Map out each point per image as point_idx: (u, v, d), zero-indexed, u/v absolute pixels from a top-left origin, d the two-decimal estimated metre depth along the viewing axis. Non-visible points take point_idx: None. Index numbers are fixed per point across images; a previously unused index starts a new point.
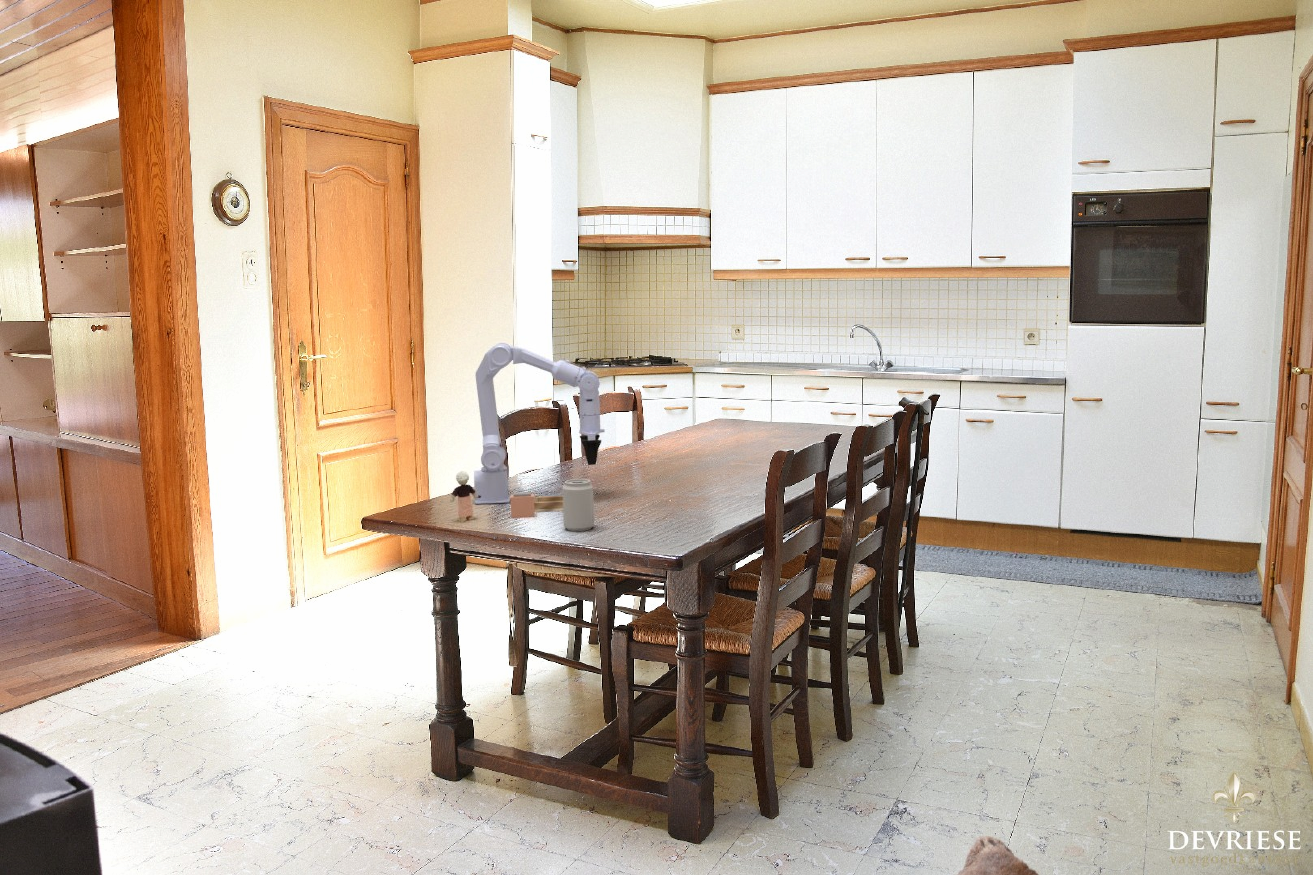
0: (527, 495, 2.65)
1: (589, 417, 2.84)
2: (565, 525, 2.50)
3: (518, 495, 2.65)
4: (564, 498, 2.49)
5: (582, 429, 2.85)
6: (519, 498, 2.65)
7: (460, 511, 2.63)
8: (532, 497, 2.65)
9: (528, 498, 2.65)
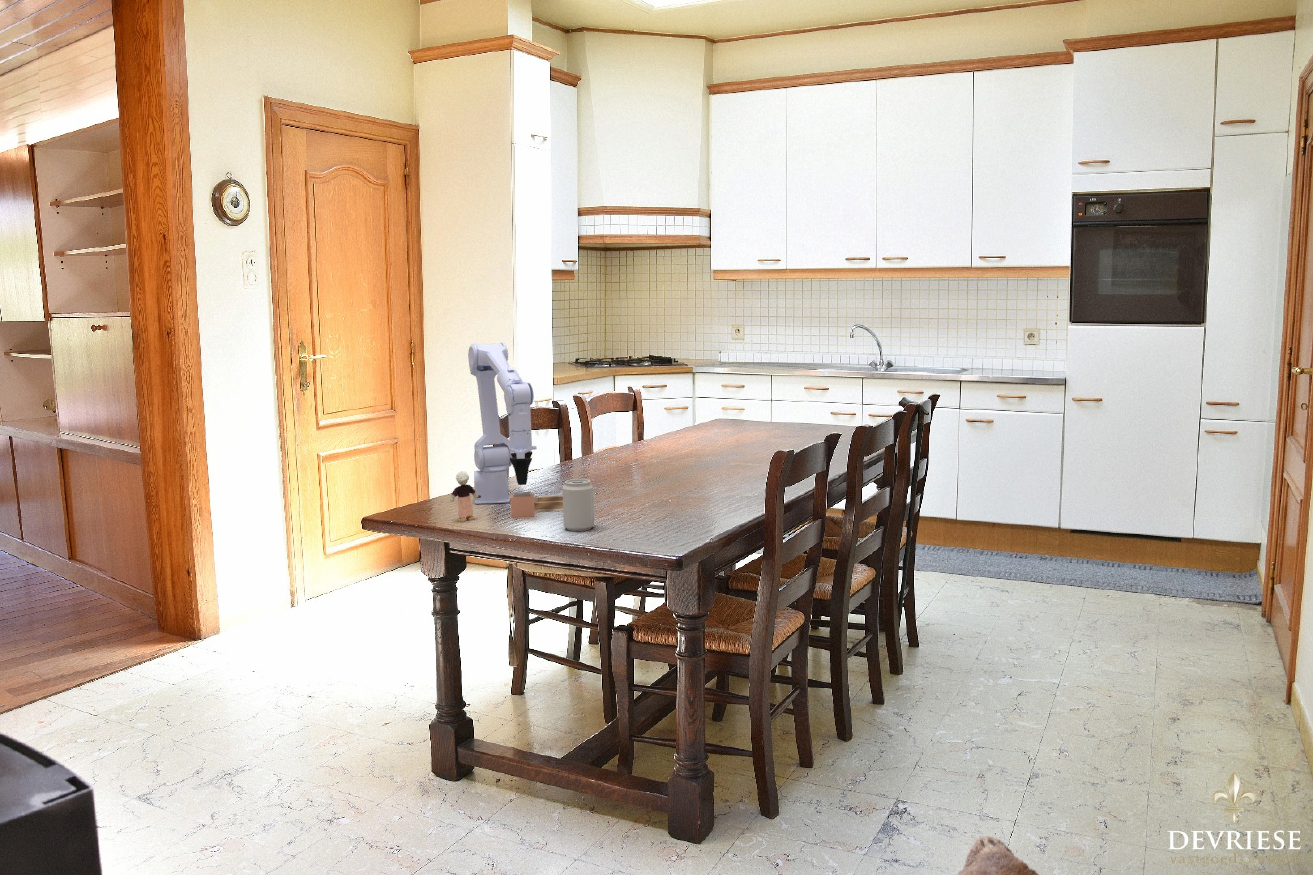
0: (527, 495, 2.65)
1: (519, 433, 2.62)
2: (565, 525, 2.50)
3: (518, 495, 2.65)
4: (564, 498, 2.49)
5: (512, 446, 2.63)
6: (519, 498, 2.65)
7: (460, 511, 2.63)
8: (532, 497, 2.65)
9: (528, 498, 2.65)
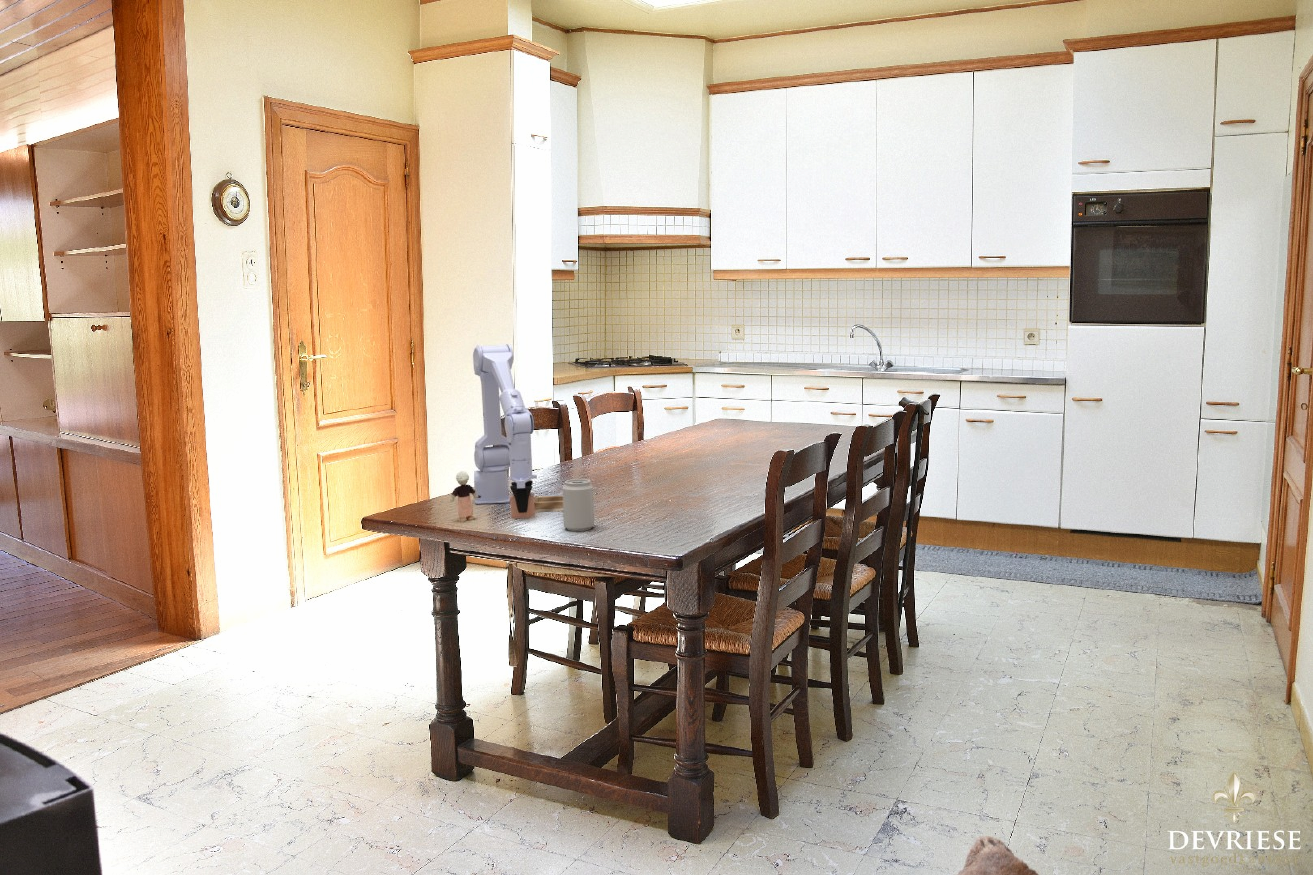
0: None
1: (519, 462, 2.63)
2: (565, 525, 2.50)
3: None
4: (564, 498, 2.49)
5: (512, 475, 2.64)
6: None
7: (460, 511, 2.63)
8: (532, 497, 2.65)
9: None
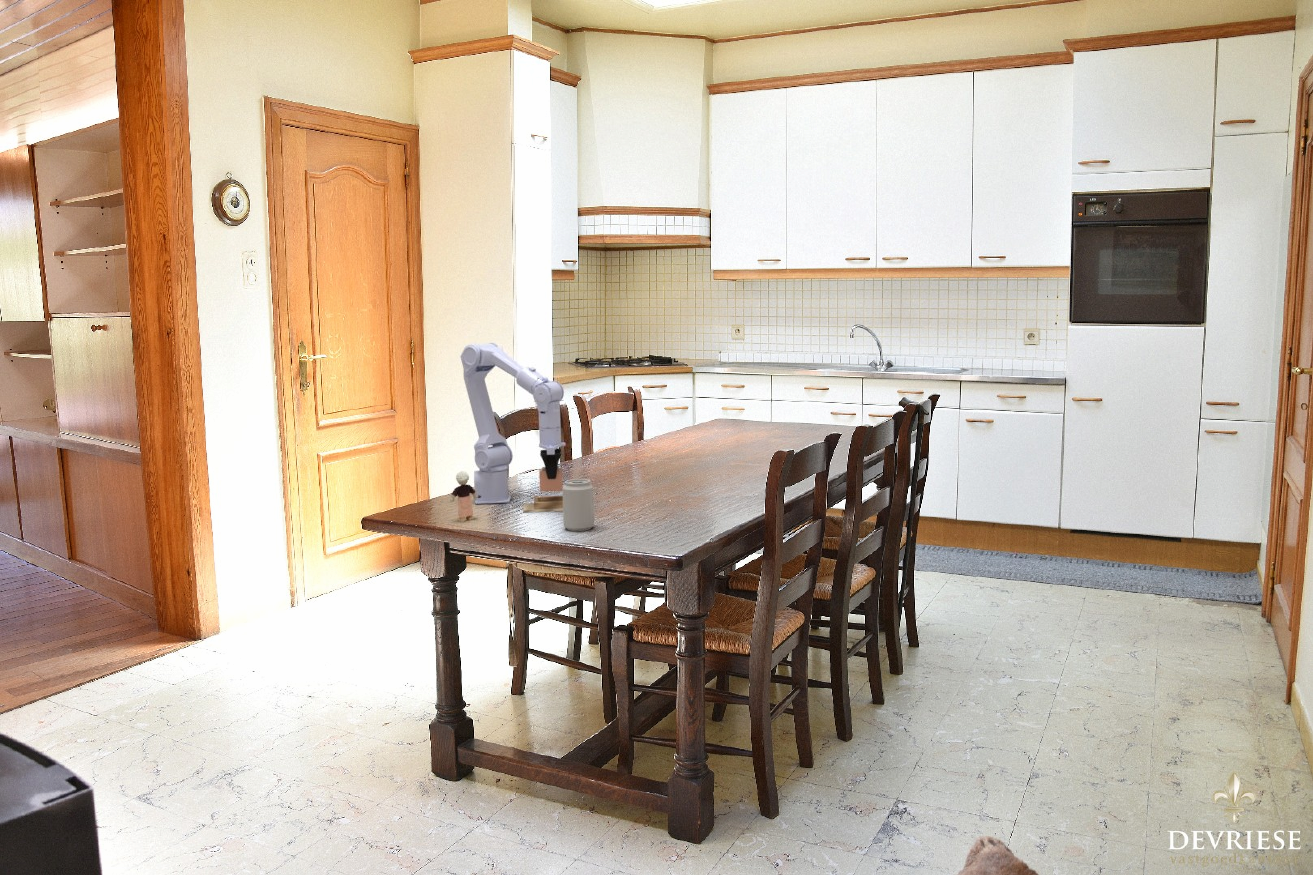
0: None
1: (549, 430, 2.71)
2: (565, 525, 2.50)
3: None
4: (564, 498, 2.49)
5: (542, 442, 2.72)
6: None
7: (460, 511, 2.63)
8: (560, 471, 2.73)
9: None
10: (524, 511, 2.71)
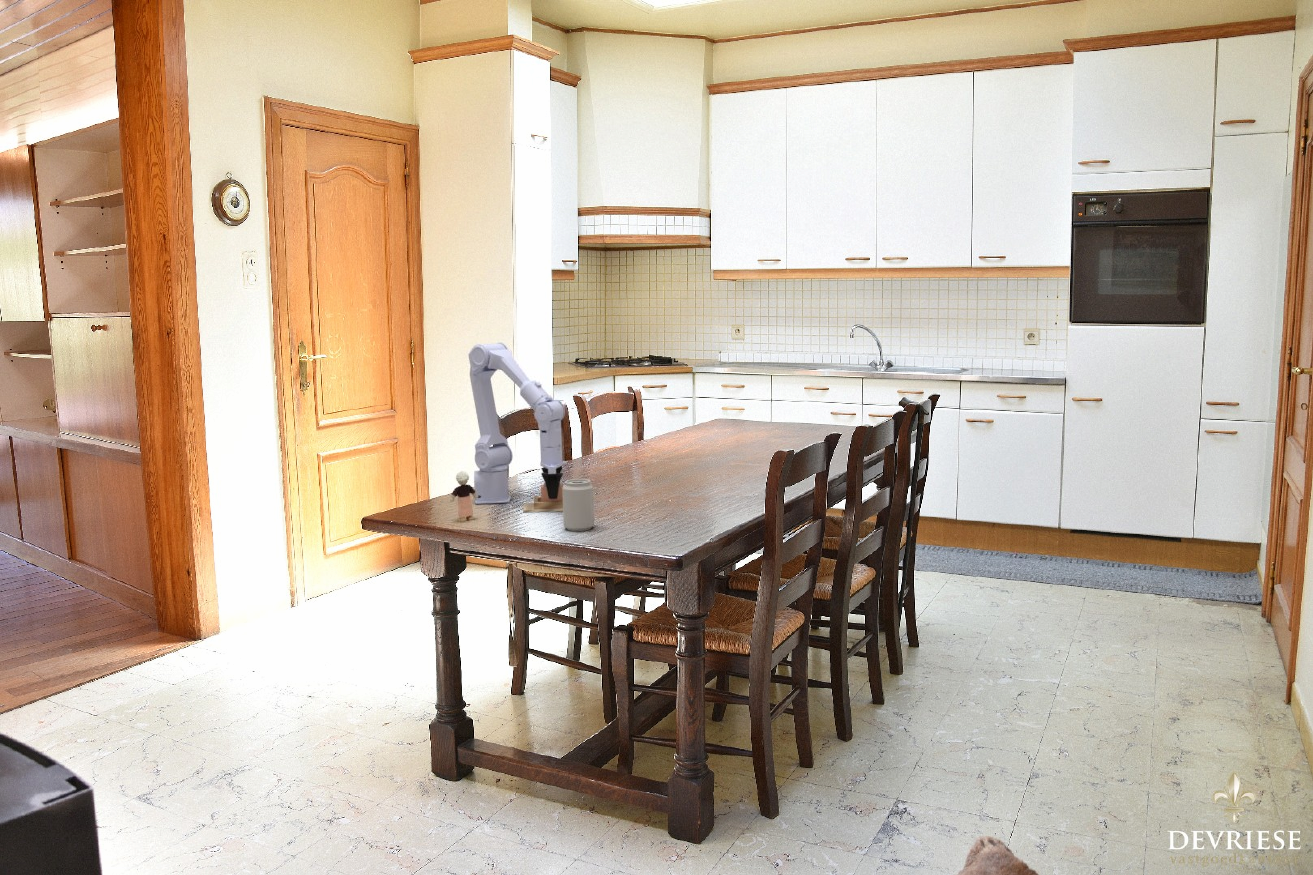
0: None
1: (550, 449, 2.72)
2: (565, 525, 2.50)
3: None
4: (564, 498, 2.49)
5: (543, 461, 2.73)
6: None
7: (460, 511, 2.63)
8: (562, 487, 2.74)
9: None
10: (524, 511, 2.71)
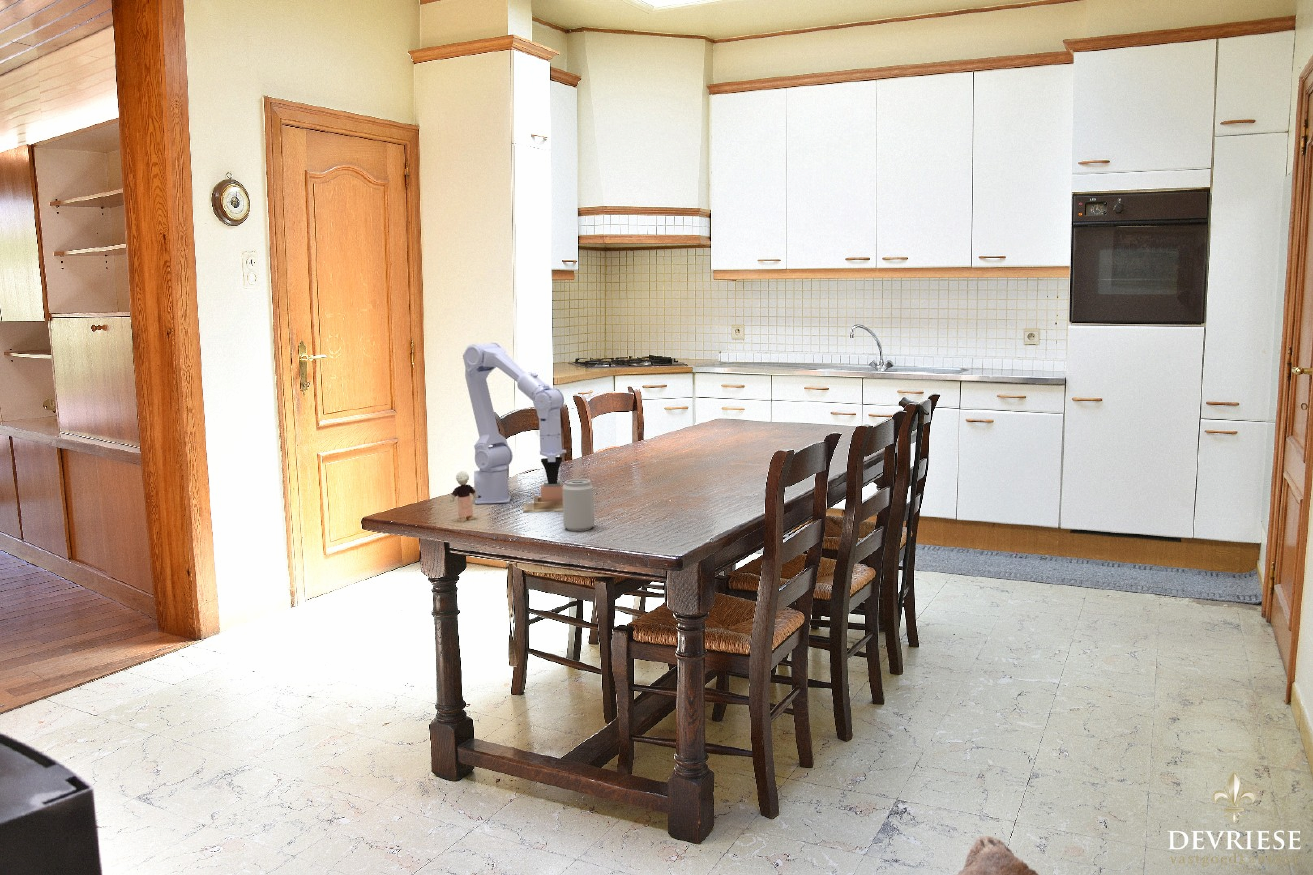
0: (557, 485, 2.74)
1: (549, 437, 2.71)
2: (565, 525, 2.50)
3: (548, 485, 2.74)
4: (564, 498, 2.49)
5: (542, 450, 2.72)
6: (549, 488, 2.74)
7: (460, 511, 2.63)
8: (562, 487, 2.74)
9: (558, 488, 2.74)
10: (524, 511, 2.71)
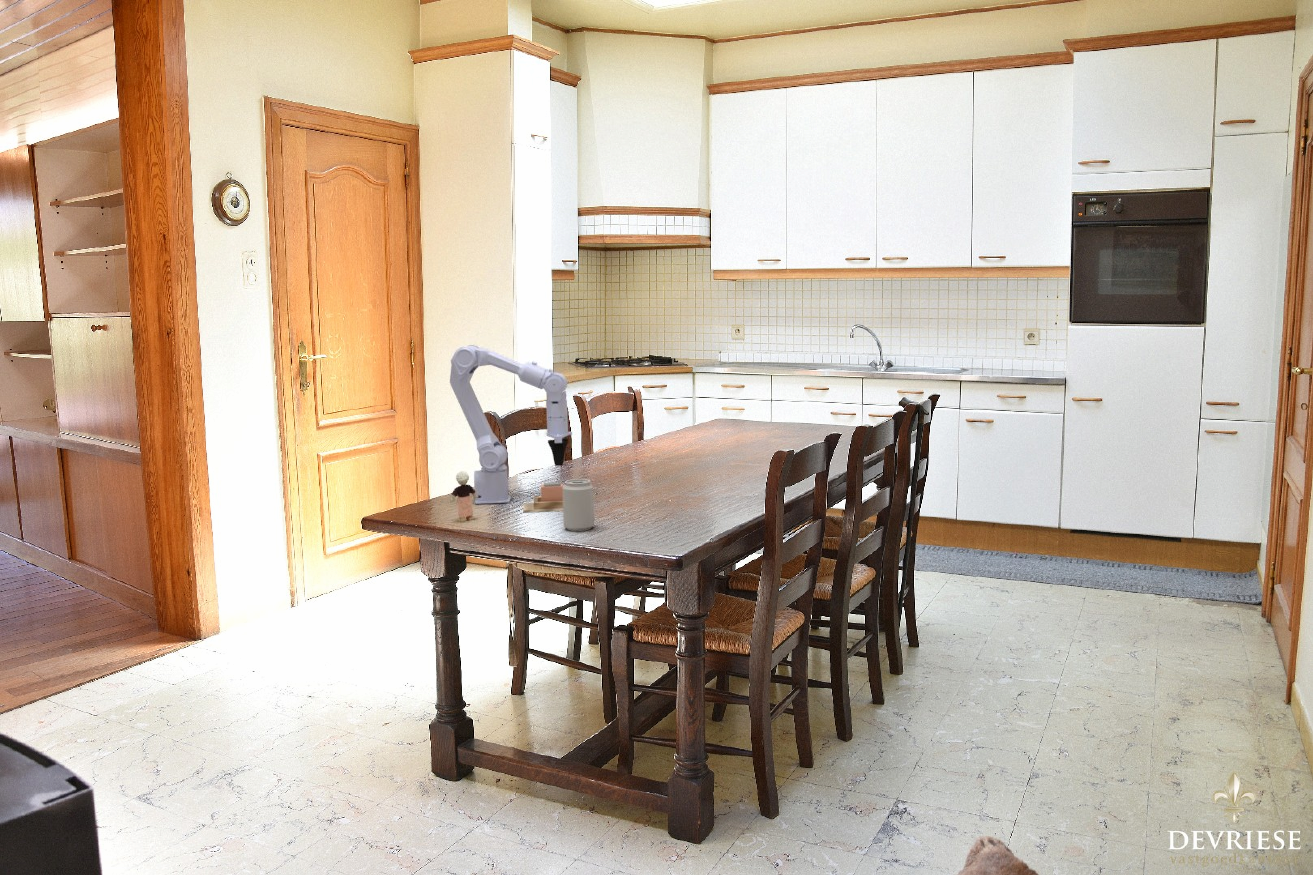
0: (557, 485, 2.74)
1: (556, 419, 2.81)
2: (565, 525, 2.50)
3: (548, 485, 2.74)
4: (564, 498, 2.49)
5: (549, 432, 2.82)
6: (549, 488, 2.74)
7: (460, 511, 2.63)
8: (562, 487, 2.74)
9: (558, 488, 2.74)
10: (524, 511, 2.71)
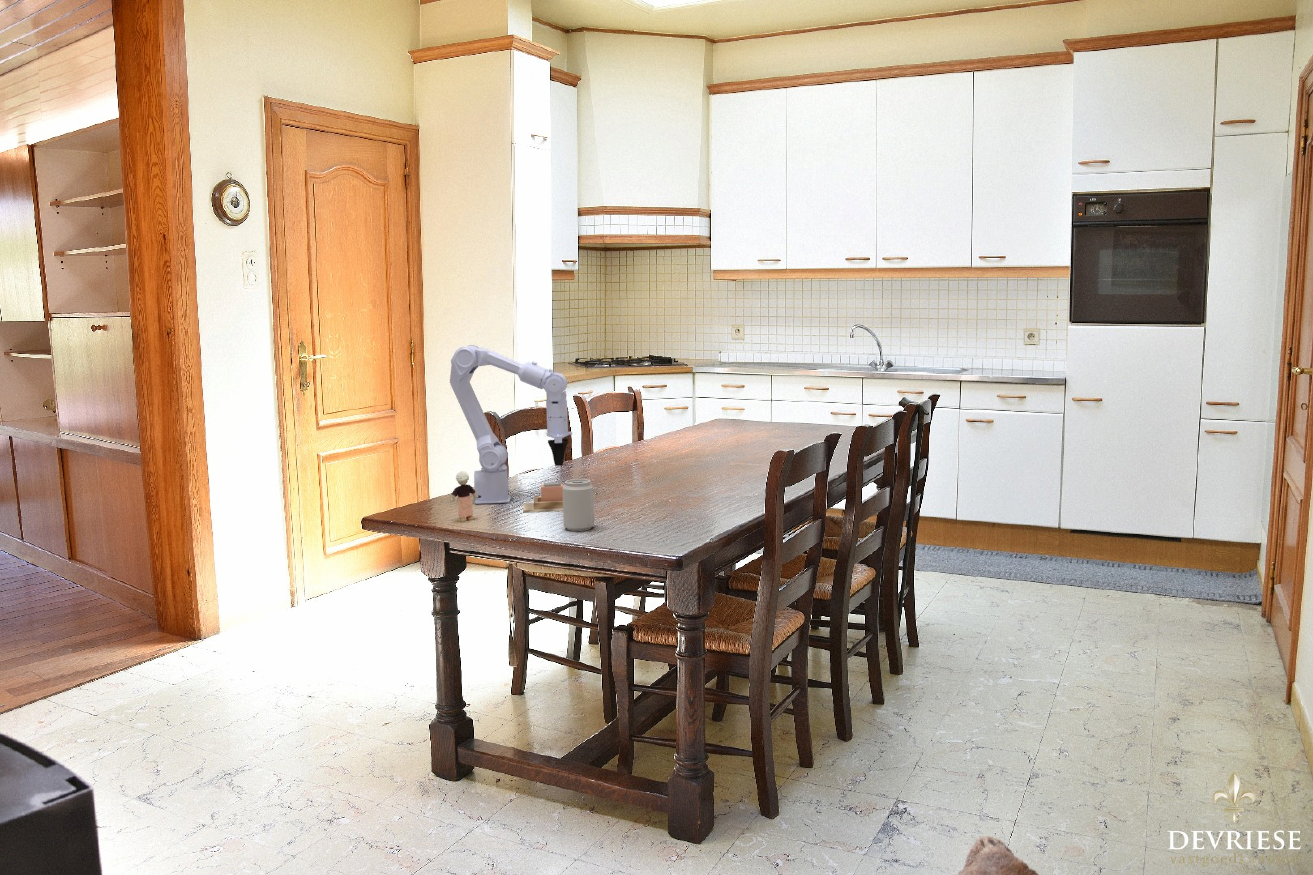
0: (557, 485, 2.74)
1: (556, 419, 2.81)
2: (565, 525, 2.50)
3: (548, 485, 2.74)
4: (564, 498, 2.49)
5: (549, 432, 2.82)
6: (549, 488, 2.74)
7: (460, 511, 2.63)
8: (562, 487, 2.74)
9: (558, 488, 2.74)
10: (524, 511, 2.71)
